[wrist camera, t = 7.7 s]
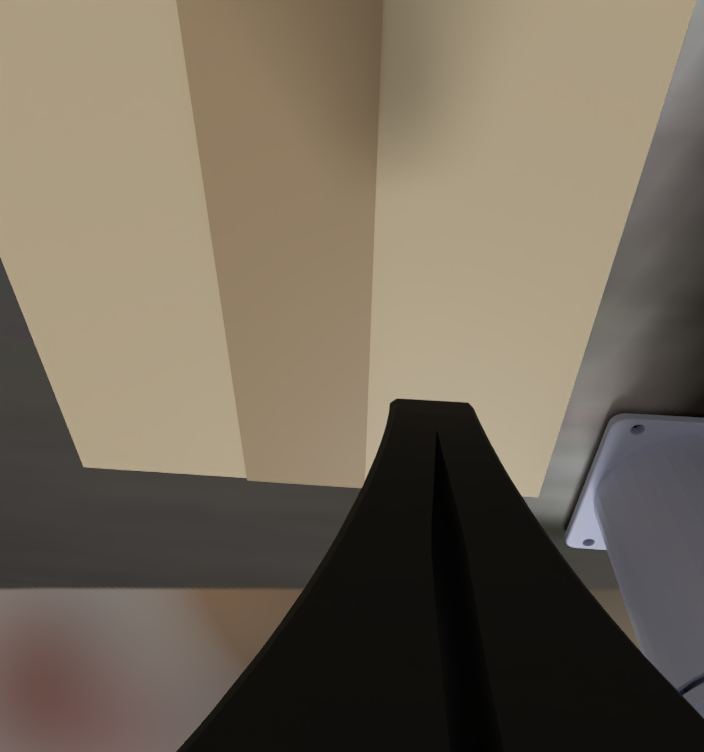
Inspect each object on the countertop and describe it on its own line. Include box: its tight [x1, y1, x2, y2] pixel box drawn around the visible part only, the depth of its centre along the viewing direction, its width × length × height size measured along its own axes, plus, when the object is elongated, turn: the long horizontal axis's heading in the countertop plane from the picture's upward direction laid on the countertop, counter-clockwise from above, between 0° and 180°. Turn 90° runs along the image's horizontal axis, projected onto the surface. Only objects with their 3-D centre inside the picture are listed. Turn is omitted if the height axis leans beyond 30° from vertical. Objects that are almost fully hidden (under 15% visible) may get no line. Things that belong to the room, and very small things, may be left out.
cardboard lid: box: [0, 0, 697, 497], centre depth 13 cm, size 14×15×1 cm
